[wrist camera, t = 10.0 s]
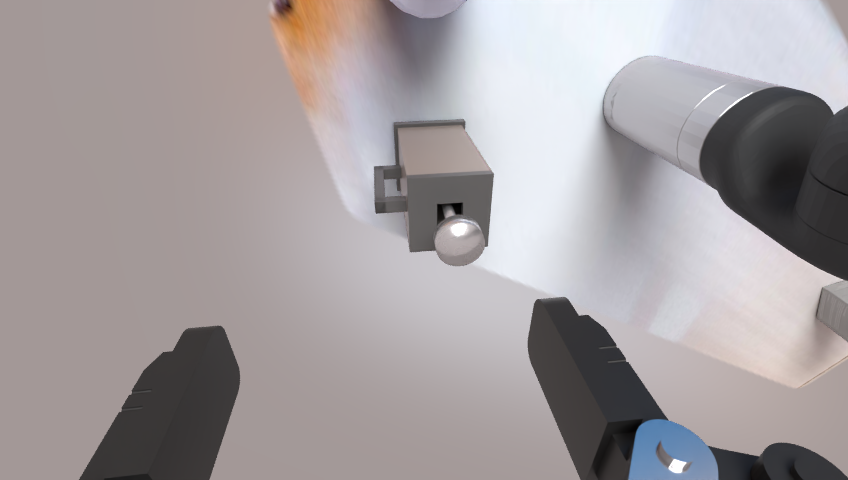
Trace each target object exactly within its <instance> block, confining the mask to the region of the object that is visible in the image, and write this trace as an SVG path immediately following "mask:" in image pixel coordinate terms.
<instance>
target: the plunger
mask: <svg viewBox="0 0 848 480" xmlns="http://www.w3.org/2000/svg"><path fill="white" fill-rule="evenodd" d="M441 207H442V210H443V213H444V216H445V219H444V220H443V221H441V222H440V223H439V224H438V226H437V227H436V229H435V232H434V243H435V247H436V251H437V254H438V256H439V258H440V259H441V260H442V261H443V262H444V263H446V264H449V265H452V266H464V265H467V264H470V263H472V262H474V261H475V260H476V259H477V258H479V256H480V255H481V254H482V252H483V250H484V247H485V239H484V236H483V234H482V231H481V229H480V227H479V225H478V223H477V222H476V221H475V220H474V219H473V218H471V217H469V216H466V215H456V214H455V212H454V209H453V206H452V203H445V204H441Z"/></svg>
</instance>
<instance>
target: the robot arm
mask: <svg viewBox="0 0 848 480" xmlns="http://www.w3.org/2000/svg"><path fill="white" fill-rule="evenodd" d="M603 108H604V115H605V118H606V121H607V122H608V124H609V125H610V127H612V128H613V129H614V130H615V131H617V132H619V133H620V134H622V135H624V136H625V137H627V138H629V139H630V140H632V141H634V142H635V143H637V144H639V145H641V146H642V147H644V148H646V149H647V150H649V151H651V152H653V153H654V154H656V155H658V156H659V157H661V158H663V159H664V160H666V161H668V162H670V163H671V164H673V165H675V166H676V167H678V168H680V169H682V170H683V171H685V172H687V173H688V174H690V175H692V176H694V177H696V178H697V179H699V180H701V181H702V182H704V183H706V184H707V185H709V186H711V187H712V188H714V189H716V190H717V191H718V193H719V195H720V197H721V199H722V200H723V202H724V203H725V204H726V205H727V206H728V207H729V208H730V209H731V210H733V211H734V212H735V213H737V214H738V215H740V216H741V217H742V218H744V219H745V220H747V221H748V222H750V223H751V224H752V225H754V226H755V227H757V228H758V229H760V230H761V231H762V232H764V233H765V234H766V235H768V236H769V237H771V238H772V239H773V240H775V241H776V242H778V243H779V244H780V245H782V246H783V247H785V248H786V249H788V250H789V251H791V252H792V253H794V254H795V255H797V256H798V257H800V258H801V259H803V260H805V261H807V262H808V263H810V264H812V265H813V266H815V267H817V268H819V269H821V270H823V271H825V272H827V273H829V274H832V275H834V276H836V277H838V278H841V279H843V280H846V281H848V106H847V107H845V108H843V109H842V110H840V111H839V112H837V113H836V114H835V115H834V114H833V112H832V110H831V109H830V107H829V106H828V105H827V104H826V102H825V101H823V100H822V99H821V98H819V97H817V96H815V95H813V94H811V93H807V92H804V91H800V90H796V89H792V88H787V87H784V86H779V85H775V84H771V83H767V82H763V81H759V80H754V79H749V78H745V77H741V76H737V75H733V74H729V73H725V72H720V71H716V70H712V69H708V68H704V67H700V66H696V65H691V64H687V63H683V62H680V61H675V60H671V59H667V58H662V57H658V56H646V57H642V58H639V59H637V60H634V61H632V62H631V63H629V64H628V65H626V66H625V67H624V68H623V69H622V70H621V71H620V72H619V73H618V74H617V75H616V76H615V77H614V79H613V80H612V81H611V83H610V85H609V87H608V89H607V92H606V95H605V98H604V106H603ZM528 352H529V358H530V361H531V364H532V367H533V369H534V371H535V374H536V376H537V378H538V381H539V383H540V385H541V388H542V390H543V392H544V395H545V397H546V399H547V402H548V404H549V406H550V409H551V411H552V413H553V416H554V418H555V420H556V423H557V425H558V428H559V430H560V432H561V435H562V437H563V439H564V442H565V444H566V446H567V448H568V451H569V453H570V456H571V458H572V460H573V463H574V465H575V467H576V470H577V472H578V475H579V477H580V479H581V480H848V478H847V476H845V475H844V474H843V473H842V472H841V471H840V470H839V469H838V468H837V467H836V466H834V465H833V464H832V463H831V462H829V461H828V460H826V459H825V458H823V457H822V456H820V455H818V454H817V453H815V452H813V451H811V450H809V449H806V448H804V447H801V446H798V445H795V444H790V443H775V444H772V445H769V446H768V447H767V448H766V449H765V450H764V451H763V453H762V454H761V455H760V457H759V456H754V455H749V454H744V453H738V452H733V451H728V450H723V449H718V448H714V447H710V446H707V445H706V444H705V443H704V442H703V441H702V439H700V438H699V437H698V436H697V435H696V434H694V433H693V432H692V431H690V430H689V429H687V428H685V427H684V426H682V425H679V424H677V423H675V422H672V421H669V420H668V419H667V417H666V416H665V415H664V414H663V412H662V411H661V409H660V408H659V406H658V405H657V403H656V402H655V400H654V399H653V397H652V396H651V394H650V393H649V392H648V390H647V389H646V388H645V386H644V384H643V383H642V381H641V380H640V379H639V377H638V376H637V374H636V373H635V371H634V370H633V368H632V367H631V365H630V364H629V362H626V358H625V357H624V355H623V354H622V352H621V351H620V349H619V348H617V347H616V343H615V342H614V341H613V339H612V338H611V336H610V335H609V334H608V332H607V330H606V329H605V328H604V327H603V326H601V325H600V324H599V323H598V322H596V321H595V320H594V319H592V318H591V317H590V316H589V315H583V316H579V315H578V314H577V312H576V311H575V309H574V307H573V306H572V304H571V303H570V301H569V300H568V299H567V298H566V297H559V298H548V299H537V300H536V301H535V303H534V308H533V313H532V320H531V325H530V331H529V337H528ZM239 385H240V371H239V367H238V364H237V361H236V359H235V356H234V354H233V351H232V348H231V345H230V343H229V340H228V338H227V335H226V332H225V330H224V329H223V327H221V326H210V327H199V328H188V329H186V330H185V331H184V332H183V334H182V335H181V337H180V339H179V341H178V343H177V344H176V346H175V348H174V350H173V351H172V352H163V353H162V354H161V355H160V356H159V357H158V358H157V359H156V360H155V361H153V362H152V363H151V364H150V365H149V366H148V367H147V368H146V369H145V370H144V371H143V373H142V374H141V376H140V378H139V379H138V381H137V383H136V384H135V386H134V388H133V390H132V394H131V395H129V396H128V398H127V400H126V401H125V403H124V405H123V406H122V412H119V413H118V415H117V417H116V418H115V420H114V422H113V423H112V425H111V427H110V428H109V430H108V432H107V434H106V435H105V437H104V439H103V440H102V442H101V443H100V445H99V447H98V449H97V450H96V452H95V454H94V455H93V457H92V459H91V460H90V462H89V464H88V465H87V467H86V469H85V471H84V472H83V474H82V476H81V477H80V479H79V480H209V479H210V476H211V473H212V470H213V467H214V464H215V461H216V458H217V454H218V451H219V448H220V446H221V442H222V439H223V436H224V433H225V430H226V427H227V424H228V421H229V418H230V415H231V412H232V409H233V406H234V403H235V400H236V397H237V394H238V390H239Z"/></svg>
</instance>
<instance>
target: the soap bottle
mask: <svg viewBox="0 0 848 480" xmlns="http://www.w3.org/2000/svg"><path fill="white" fill-rule="evenodd" d="M390 1H391V2H392V3H393V4H394V5H395V6H396V7H398V8H399V9H400V10H402V11H403V12H406V13H409V14H411V15H414V16H416V17H419V18H440V17H442V16H444V15H447V14H449V13H451V12H453V11H456V10H457V9H458V8H459V7H460V6H461V5H462V4H464V3H465V2H466V1H467V0H390Z"/></svg>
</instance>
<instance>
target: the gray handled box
mask: <svg viewBox="0 0 848 480" xmlns="http://www.w3.org/2000/svg"><path fill="white" fill-rule="evenodd" d="M394 140H395V159H396V165H393V166H375V167H374V188H375V211H376V214H377V213H392V212H404V215H405V222H406V229H407V236H408V242H409V249H410V252H420V251H434V250H436V247H435V243H434V232H435V229H436V227H437V226H438V224H439V223H440V222H441V221H443V220H444V219H445V216H444V213H443V210H442V207H441V204H445V203H452V206H453V209H454V212H455V214H456V215H466V216H469V217H471V218H473V219H474V220H475V221H476V222H477V223H478V225H479V227H480V229H481V231H482V234H483V236H484V239H485V247H488V236H489V224H490V212H491V200H492V188H493V177H494V174H493V172H492V171H491V169H490V167H489V166H488V164H487V163H486V161H485V160H484V158H483V157H482V155H481V154H480V152H479V151H478V149H477V148H476V146H475V145H474V143H473V142H472V140H471V139H470V137H469V136H468V134H467V132H466V131H465V121H464V119H457V120H435V121H413V122H394ZM384 179H397V191H400V190H401V195H402V196H394V197H385V188H384Z"/></svg>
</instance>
